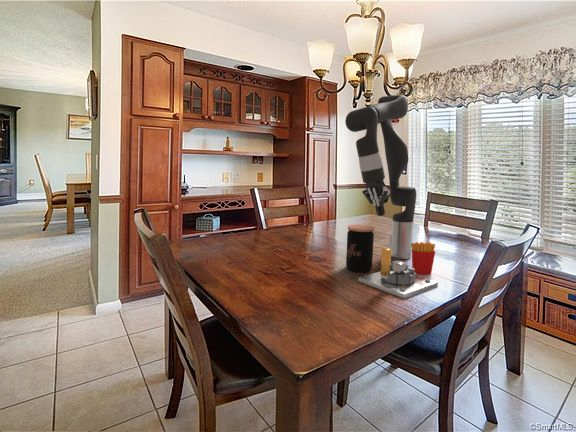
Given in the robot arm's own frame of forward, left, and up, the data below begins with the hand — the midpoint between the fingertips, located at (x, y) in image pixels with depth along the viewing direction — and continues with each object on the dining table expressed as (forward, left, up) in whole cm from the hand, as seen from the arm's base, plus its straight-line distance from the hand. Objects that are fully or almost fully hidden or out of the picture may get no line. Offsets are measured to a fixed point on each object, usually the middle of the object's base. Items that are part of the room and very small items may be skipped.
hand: (381, 215), depth 122 cm
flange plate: (+3, +7, -26) cm, 27 cm away
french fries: (+1, +25, -26) cm, 36 cm away
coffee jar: (-17, +8, -26) cm, 32 cm away
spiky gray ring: (+4, +4, -24) cm, 25 cm away
